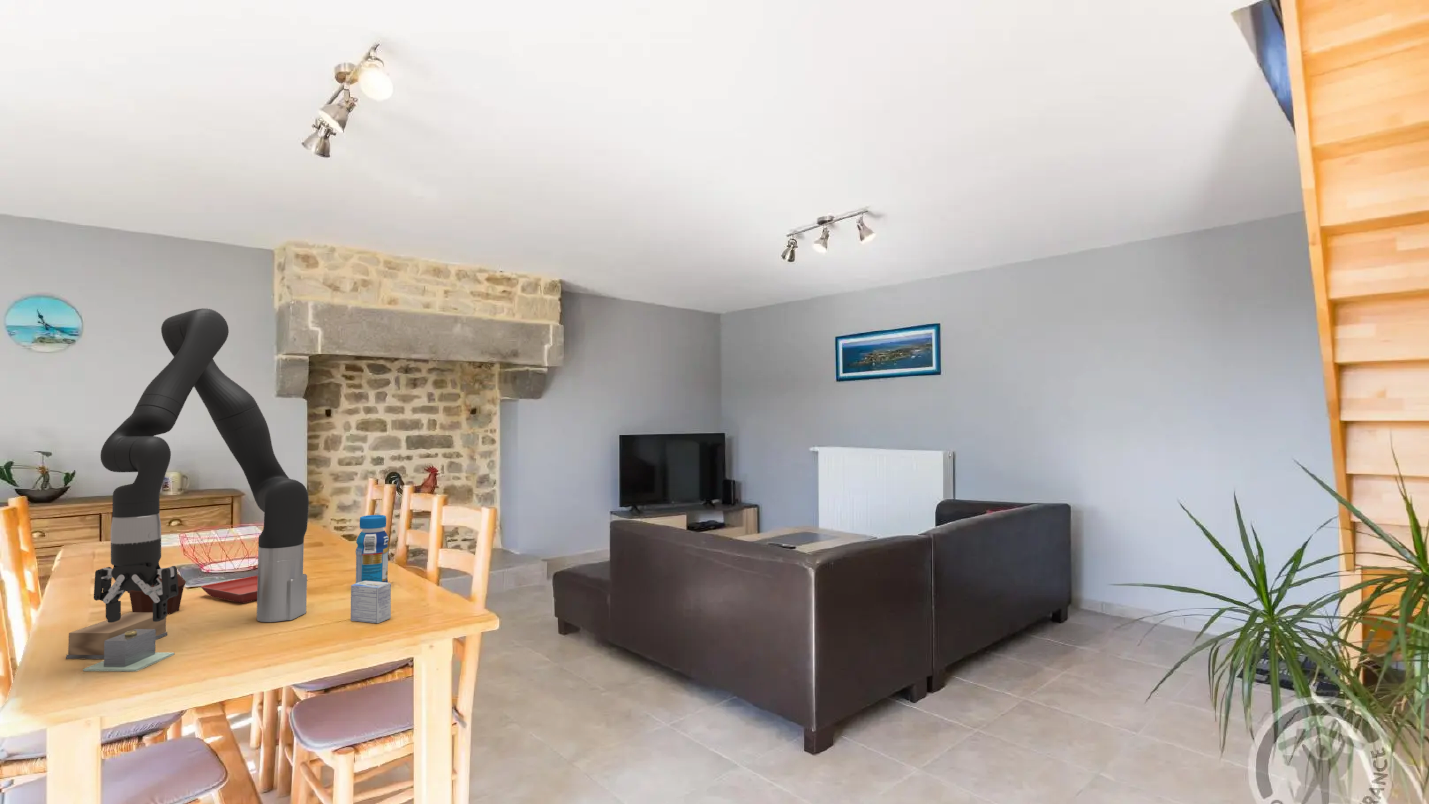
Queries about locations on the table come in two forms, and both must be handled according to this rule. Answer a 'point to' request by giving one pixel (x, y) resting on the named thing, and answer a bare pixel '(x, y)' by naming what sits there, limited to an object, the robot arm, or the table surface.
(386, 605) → the medicine box
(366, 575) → the beverage bottle
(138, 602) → the muffin
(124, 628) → the body
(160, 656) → the mat
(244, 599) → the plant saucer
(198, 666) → the table surface
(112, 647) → the block with brass knob
